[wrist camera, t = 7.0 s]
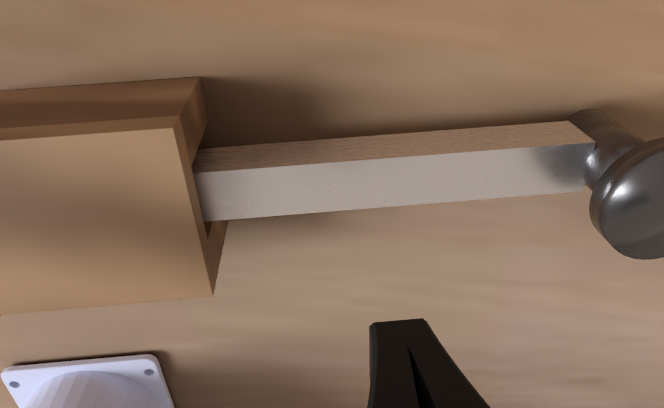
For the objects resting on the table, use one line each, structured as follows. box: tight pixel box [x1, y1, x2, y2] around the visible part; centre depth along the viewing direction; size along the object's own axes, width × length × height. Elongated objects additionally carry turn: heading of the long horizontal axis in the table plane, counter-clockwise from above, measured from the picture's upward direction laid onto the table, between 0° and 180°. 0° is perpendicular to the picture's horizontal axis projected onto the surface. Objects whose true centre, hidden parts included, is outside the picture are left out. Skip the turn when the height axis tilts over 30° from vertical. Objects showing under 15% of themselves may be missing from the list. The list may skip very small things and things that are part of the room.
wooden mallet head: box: [0, 77, 228, 315], centre depth 18 cm, size 7×8×5 cm
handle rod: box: [191, 109, 664, 260], centre depth 18 cm, size 4×18×6 cm, turn 93°
